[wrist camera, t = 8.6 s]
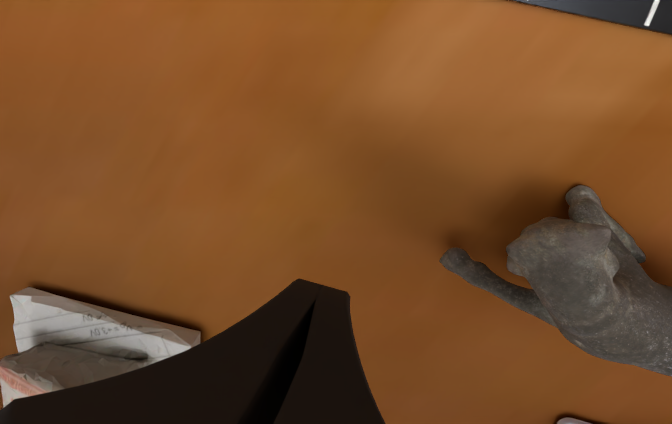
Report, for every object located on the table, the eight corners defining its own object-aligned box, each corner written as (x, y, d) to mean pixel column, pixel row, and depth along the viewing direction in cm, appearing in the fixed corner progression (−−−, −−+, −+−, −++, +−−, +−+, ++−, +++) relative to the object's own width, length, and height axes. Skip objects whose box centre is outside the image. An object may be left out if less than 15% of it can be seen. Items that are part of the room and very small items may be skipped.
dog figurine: (797, 249, 17) (1049, 390, 10) (697, 362, 19) (849, 539, 13) (498, 129, 17) (549, 189, 11) (433, 254, 20) (442, 370, 13)
